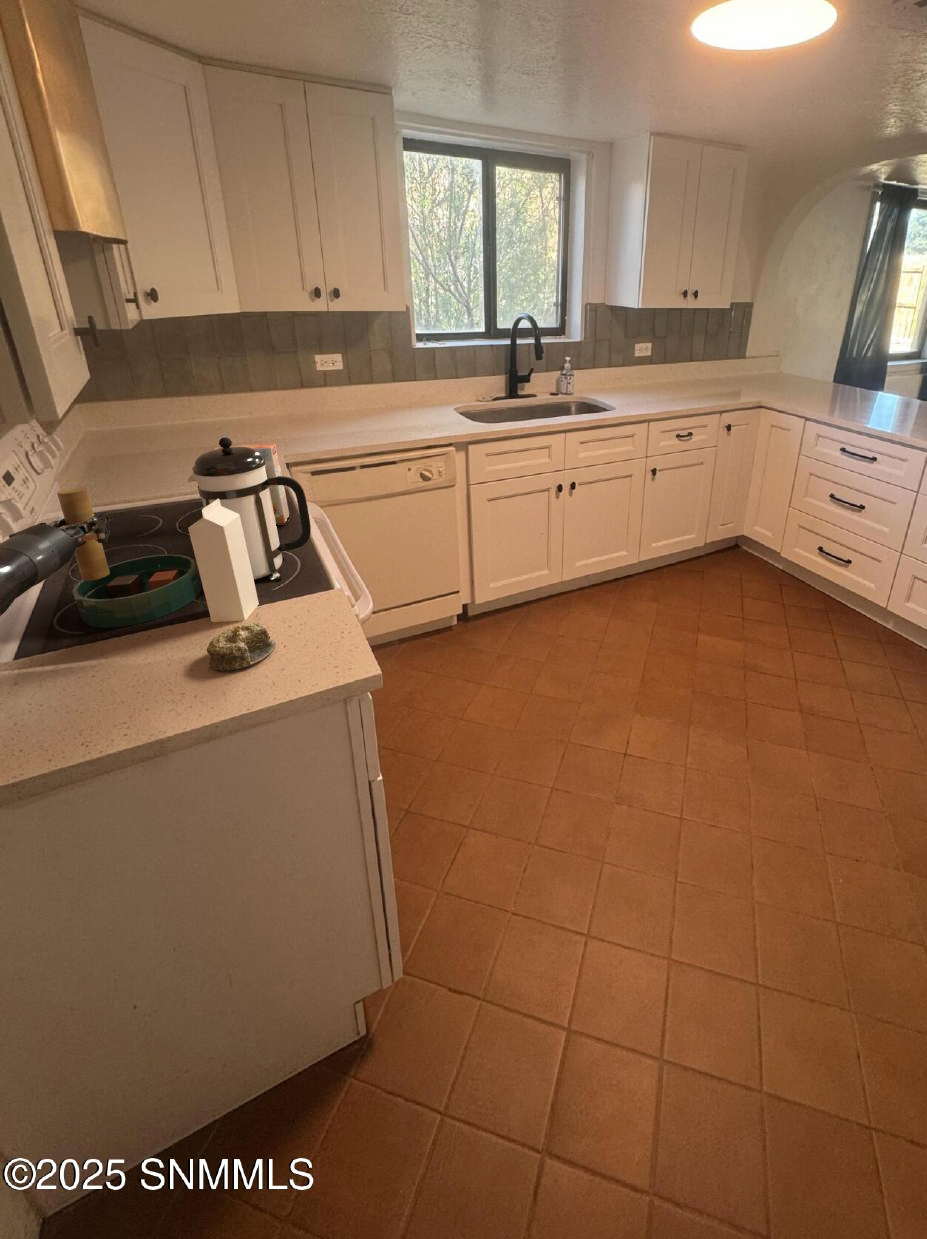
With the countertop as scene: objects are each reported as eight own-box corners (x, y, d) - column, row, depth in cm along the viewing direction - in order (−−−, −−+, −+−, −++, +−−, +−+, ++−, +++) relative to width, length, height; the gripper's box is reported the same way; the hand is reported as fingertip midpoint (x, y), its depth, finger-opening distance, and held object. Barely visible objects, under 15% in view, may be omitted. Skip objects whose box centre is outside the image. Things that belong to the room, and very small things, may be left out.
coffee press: (246, 601, 112) (213, 451, 102) (198, 583, 119) (162, 441, 109) (320, 566, 126) (296, 431, 116) (272, 552, 134) (247, 424, 123)
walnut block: (111, 604, 111) (105, 585, 109) (122, 594, 114) (117, 576, 113) (134, 602, 111) (128, 583, 110) (144, 592, 115) (139, 574, 113)
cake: (197, 677, 90) (186, 648, 89) (228, 642, 100) (219, 615, 98) (260, 670, 90) (251, 640, 89) (285, 635, 100) (277, 608, 98)
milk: (259, 606, 110) (237, 497, 103) (245, 623, 104) (220, 509, 97) (227, 607, 110) (202, 498, 102) (210, 624, 104) (183, 510, 97)
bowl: (59, 637, 101) (48, 606, 99) (114, 585, 119) (106, 559, 117) (179, 623, 105) (171, 594, 103) (215, 575, 123) (209, 550, 121)
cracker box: (290, 518, 154) (276, 441, 147) (285, 526, 148) (270, 447, 141) (234, 523, 151) (216, 445, 144) (226, 531, 146) (208, 451, 139)
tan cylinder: (77, 581, 101) (51, 494, 96) (89, 572, 105) (65, 488, 100) (102, 579, 102) (78, 492, 97) (114, 570, 106) (91, 486, 101)
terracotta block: (153, 599, 112) (147, 581, 111) (160, 590, 116) (155, 572, 114) (176, 596, 113) (171, 578, 112) (183, 587, 117) (178, 569, 115)
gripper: (75, 530, 87) (129, 494, 103) (-35, 539, 85) (37, 501, 101) (89, 575, 90) (139, 533, 106) (-17, 585, 87) (51, 540, 103)
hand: (89, 517), depth 103 cm, fingers closed on tan cylinder, 4 cm apart
